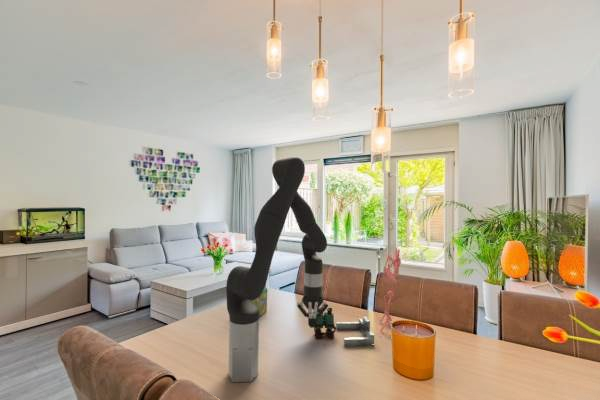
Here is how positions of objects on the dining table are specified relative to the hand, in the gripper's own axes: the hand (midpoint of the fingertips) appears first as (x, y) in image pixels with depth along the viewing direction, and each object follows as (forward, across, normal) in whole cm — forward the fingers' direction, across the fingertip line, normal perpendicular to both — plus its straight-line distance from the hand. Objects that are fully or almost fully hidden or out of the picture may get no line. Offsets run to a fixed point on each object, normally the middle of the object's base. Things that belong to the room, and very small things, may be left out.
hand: (311, 326), depth 120 cm
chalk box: (+4, -24, +26) cm, 36 cm away
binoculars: (+4, +5, 0) cm, 7 cm away
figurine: (+4, +38, +6) cm, 38 cm away
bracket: (+4, +17, 0) cm, 17 cm away
